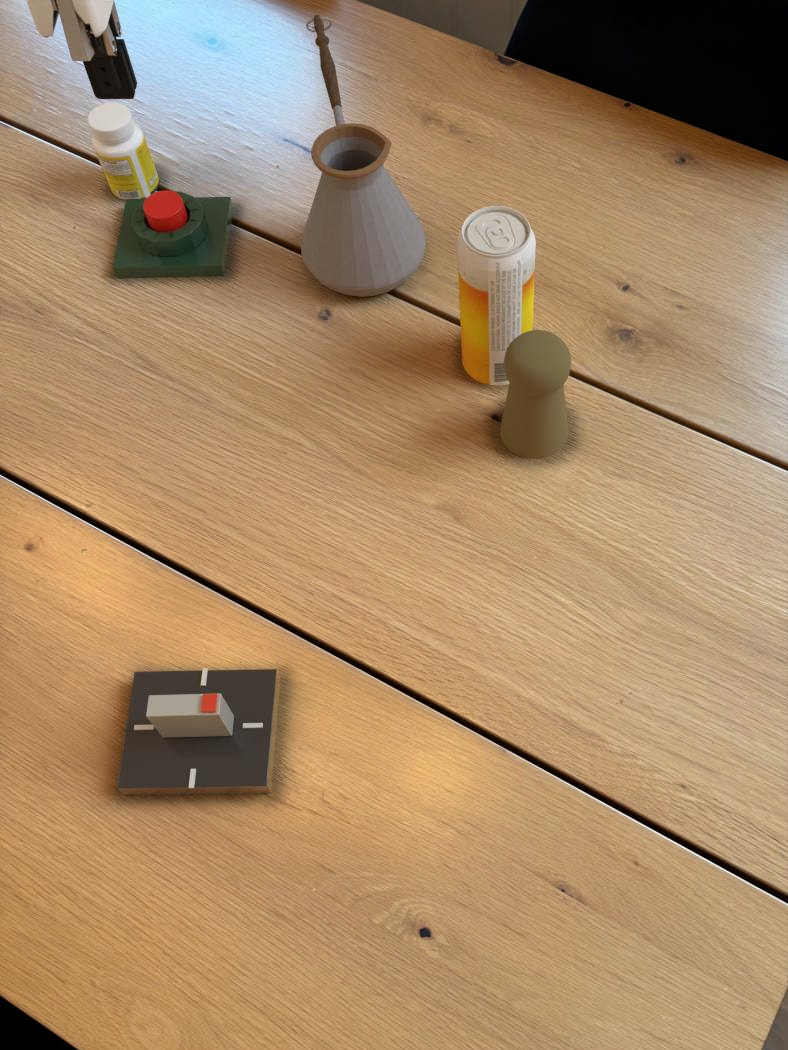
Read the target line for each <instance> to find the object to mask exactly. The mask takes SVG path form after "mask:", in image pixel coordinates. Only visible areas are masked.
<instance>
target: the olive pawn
mask: <svg viewBox="0 0 788 1050" xmlns="http://www.w3.org/2000/svg"><path fill="white" fill-rule="evenodd" d="M571 368H572V358H571V353H570V349H569V347H568V346H567V344H566V343H565V341H564V340H563V339H562V338H561V337H560V336H558V335H557V334H555V333H554V332H550V331H548V330H542V329H533V330H532V331H527V332H525V333H522V334H520V335H519V336H518V337H516V338H515V339H514V340H513V341H512V342H511V343H510V345H509V346H508V348H507V350H506V353H505V357H504V369H505V374H506V377H507V379H508V381H509V382H510V384H508V390H507V393H506V397H505V404H504V409H503V414H502V418H501V423H500V428H499V434H500V439H501V441H502V443H503V445H504V446H505V447H506V449H508V450H509V451H510V452H511V453H513V454H515V455H516V456H519V457H521V458H524V459H533V460H537V459H545V458H548V457H550V456H552V455H555V454H556V453H558V452H559V451H560V450H561V449H562V448H563V447H564V446H565V444H566V443H567V441H568V438H569V431H570V430H569V423H568V422H569V420H568V412H567V411H568V410H567V402H566V393H565V383H566V382H567V381H568V378H569V377H570V375H571V374H570V373H571Z"/></svg>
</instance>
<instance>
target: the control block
mask: <svg viewBox="0 0 788 1050" xmlns="http://www.w3.org/2000/svg"><path fill="white" fill-rule="evenodd" d="M172 191H173V190H172ZM173 192H175V193H177V194H179V195H180V196H181V198H182V200H183V203H184V206H185V209H186V212H187V215H188V218H187V222H186V224H185V225H184V226H183V227H182V228H179V229H177V230H174V231H172V232H157V231H155V230H153V229H152V228H151V227H150V225H149V223H148V220H147V218H146V215H145V212H144V209H143V205H144V202H145V200H146V199H147V198H148V197H147V198H145V199H126V201H125V202H124V208H123V212H122V217H121V222H120V227H119V233H118V238H117V243H116V246H115V247H116V248H115V253H114V258H113V261H112V262H113V263H112V267H111V268H112V270H113V273H114V275H115V277H116V279H151V278H153V279H155V278H159V279H161V278H162V279H163V278H202V277H205V278H206V277H225V275H226V266H227V260H228V259H227V258H228V252H229V245H230V238H231V237H230V236H231V230H232V229H231V228H232V221H233V214H234V205H233V201H232V197H231V196H201V197H199V196H198V197H197V196H193V195H192V194H191V195H190V194H188V193H186V192H184V191H180V190H178V191H177V190H175V191H173Z"/></svg>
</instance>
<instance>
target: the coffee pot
mask: <svg viewBox="0 0 788 1050" xmlns="http://www.w3.org/2000/svg"><path fill="white" fill-rule="evenodd" d="M323 20H325V21H329V25H327V26H326V27H325V25H324V22H323ZM312 22H313V28H314V29H312V28H309V25H310V24H311V23H312ZM332 24H333V22H332V19H330V18H329V17H325V16H321V15H320V14H315V15H313V18H310V20H308V21H307V22H306V24H305V28H306V29H307V31H308V32H311V33H316V38H315V41H314V42H315V45H316V46H317V47H318V49H319V50H318V51H319V63H320V71H321V73H322V78H323V82H324V84H325V85H324V86H325V89H326V92H327V96H328V100H329V103H330V107H331V110H332V112H333V118H334V122H335V125H334V126H332V127H329V128H328V129H325V130H324V131H323V132H321V133H320V134H319V135H318V136H317V137H316V138H315V140H314V141H313V144H312V146H311V150H310V152H311V160H312V162H313V164H314V166H315V167H316V168H317V169H318V170H319V171H320V172H321V174H320V178H319V181H318V184H317V188H316V190H315V194H314V197H313V201H312V204H311V207H310V209H309V214H308V218H307V221H306V223H305V227H304V230H303V233H302V236H301V239H300V250H301V251H300V252H301V257H302V260H303V263H304V264H305V267H306V269H307V270H308V271H309V272H310V273H311V274H312V276H313V277H314V278H315V279H316V280H317V281H318V282H319V283H320V284H321V285H323V286H325V287H326V288H328V289H329V290H330V291H333V292H337V293H339V294H342V295H346V296H350V297H351V296H352V297H359V298H364V297H375V296H378V295H381V294H385V293H389V292H391V291H392V290H394V289H397V288H398V287H401V286H402V285H403V284H404V283H405V282H407V281H408V280H410V278H411V277H413V276H414V274H415V273H416V271H417V270H418V268H419V267H420V265H421V263H422V261H423V258H424V256H425V252H426V248H427V238H426V237H427V236H426V231H425V228H424V227H423V225H422V223H421V220H420V218H419V217H418V216H417V213H416V212H415V210H413V208H412V207H411V204H410V203H409V202H408V201H407V199H406V197H405V196H404V195H403V192H402V191H401V190H400V188H399V187H398V185H397V184H396V183H395V181H394V179H393V178H392V176H391V175H390V173H389V171H388V169H386V167H385V166H384V165H385V162H386V160H387V158H388V156H389V154H390V152H391V148H392V145H393V144H392V141H391V140H390V139H389V138H388V137H387V136H386V135H384V134H383V133H382V132H381V131H380V130H378V129H376V128H374V127H372V126H371V125H368V124H367V125H366V124H363V123H354V122H353V123H352V122H351V123H346V122H345V117H344V113H343V110H342V109H343V108H342V107H343V106H342V98H341V93H340V87H339V81H338V74H337V69H336V64H335V62H334V61H335V60H334V59H333V56H332V53H331V50H330V48H329V44H330V38H329V36H327V35H326V33H325V31H328V30H329V29H331V27H332Z"/></svg>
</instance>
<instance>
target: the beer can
mask: <svg viewBox="0 0 788 1050" xmlns="http://www.w3.org/2000/svg"><path fill="white" fill-rule="evenodd" d="M536 247H537V241H536V236H535V232H534V231H533V230H532V227H531V224H530V222H529V220H528V218H527V217H526V216H525V215H524V214H523V213H521V212H520V211H518V210H516V209H514V208H512V207H509V206H503V205H491V206H485V207H481V208H479V209H477V210H475V211H473V212H471V213H470V214H469V215H468V216H467V217H466V218H465V219H464V221H463V223H462V225H461V229H460V231H459V232H458V234H457V237H456V257H457V259H456V260H457V278H458V279H457V280H458V282H457V283H458V299H459V301H458V302H459V318H460V320H459V323H460V343H461V361H462V366H463V369H464V370H465V372H466V373H467V374H468V375H469V376H470V377H471V378H472V379H473V380H475V381H476V382H479V383H481V384H484V385H489V386H505V385H509V384H510V382H509V381H508V379H507V377H506V374H505V369H504V357H505V353H506V350H507V348H508V346H509V345H510V343H511V342H512V341H513V340H514V339H515V338H516V337H518V336H519V335H520V334H522V333H525V332H527V331H532V330H534V329H533V328H534V303H535V276H536V275H535V274H536V251H537V249H536Z"/></svg>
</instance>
